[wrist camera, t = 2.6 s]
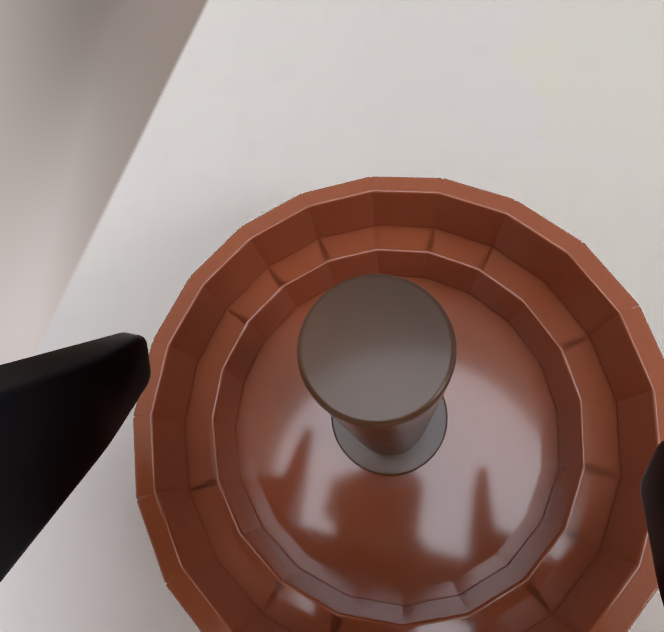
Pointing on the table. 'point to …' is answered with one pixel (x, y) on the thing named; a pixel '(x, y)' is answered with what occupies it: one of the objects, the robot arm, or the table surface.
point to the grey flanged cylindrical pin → (380, 369)
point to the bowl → (449, 461)
